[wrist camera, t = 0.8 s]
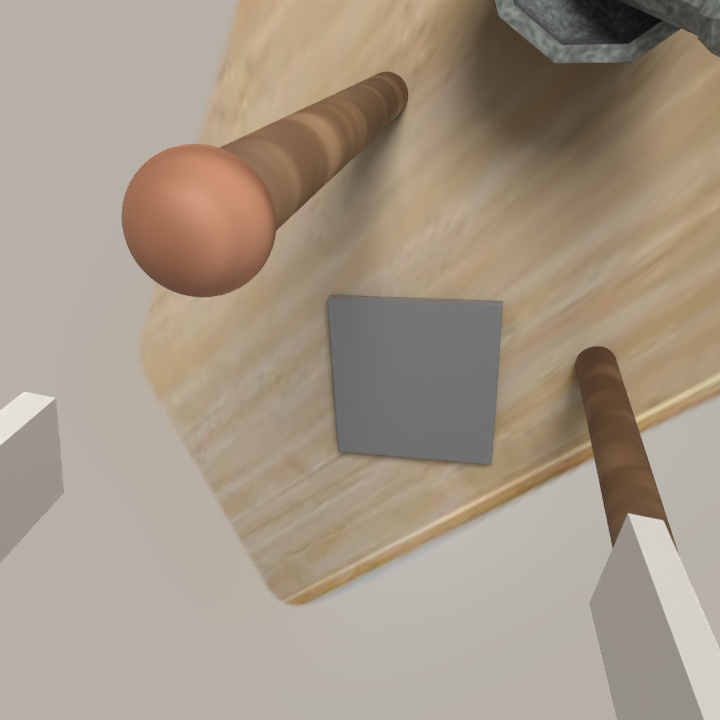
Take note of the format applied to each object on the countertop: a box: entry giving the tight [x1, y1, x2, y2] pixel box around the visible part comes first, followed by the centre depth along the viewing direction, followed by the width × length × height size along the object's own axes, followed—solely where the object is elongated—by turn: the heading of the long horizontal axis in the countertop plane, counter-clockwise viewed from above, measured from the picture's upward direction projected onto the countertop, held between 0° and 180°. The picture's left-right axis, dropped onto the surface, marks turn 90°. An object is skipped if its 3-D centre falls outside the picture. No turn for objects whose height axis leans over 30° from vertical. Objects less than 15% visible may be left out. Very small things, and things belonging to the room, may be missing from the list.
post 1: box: [122, 72, 408, 297], centre depth 24 cm, size 3×3×26 cm
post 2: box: [576, 347, 679, 555], centre depth 29 cm, size 3×3×26 cm
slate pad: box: [328, 295, 503, 465], centre depth 43 cm, size 11×12×1 cm
